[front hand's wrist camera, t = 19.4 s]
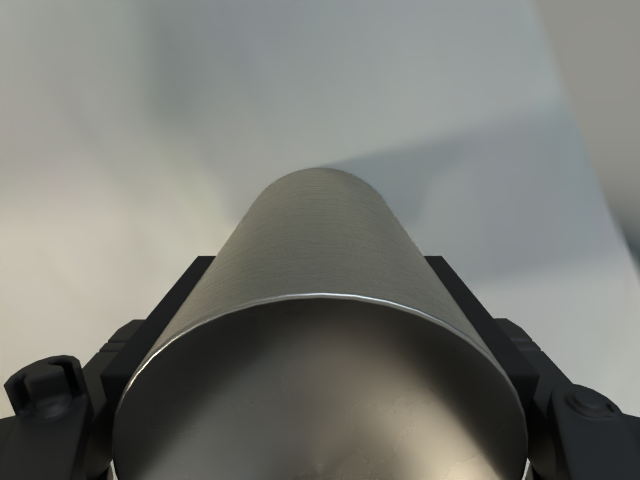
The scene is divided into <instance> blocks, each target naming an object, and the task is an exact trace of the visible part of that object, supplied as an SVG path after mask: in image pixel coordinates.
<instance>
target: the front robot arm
mask: <svg viewBox="0 0 640 480" xmlns="http://www.w3.org/2000/svg"><path fill="white" fill-rule="evenodd" d="M215 257H216V256H198V257H197V258H196V259H195V260H194V262H193V263H192V264H191V265H190V267H189V268H188V269H187V270H186V271H185V273H184V274H183V275H182V276H181V277H180V279H179V280H178V281H177V282H176V283H175V285H174V286H173V287H172V288H171V289H170V291H169V292H168V293H167V294H166V296H165V297H164V298H163V299H162V300H161V302H160V303H159V304H158V305H157V306H156V308H155V309H154V310H153V311H152V312H151V314H150V315H149V316H148V317H147V318H146V320H132V321H131V322H129V323H128V324H126V325H124V326H123V327H121V328H120V329H118V330H117V331H116V332H115V334H114V335H113V336H112V337H111V338H110V339H109V340H108V343H105V344H104V346H103V347H102V348H101V349H100V350H99V352H97V353H96V354H95V355H94V356H93V358H92V359H91V360H90V361H89V362H88V363H87V364H86V365H85V366H84V367H83V368H81V365H80V361H79V360H78V359H77V358H75V357H74V356H67V355H60V356H52V357H48V358H45V359H42V360H39V361H36V362H34V363H32V364H30V365H28V366H26V367H24V368H22V369H21V370H19V371H18V372H16V373H15V374H14V375H12V376H11V377H10V378H9V379H8V380H7V382H6V383H5V384H4V388H5V390H6V393H7V395H8V397H9V400H10V402H11V405H12V407H13V410H14V412H15V414H16V415H15V416H11V417H7V418H3V419H0V480H113V472H112V467H111V464H110V462H111V461H112V459H113V458H112V429H113V423H114V418H115V412H116V409H117V406H118V404H119V401H120V398H121V396H122V393H123V391H124V389H125V387H126V386H127V384H128V382H129V381H130V379H131V377H132V376H133V374H134V373H135V371H136V369H137V368H138V367H139V365H140V364H141V362H142V361H143V360H144V358H145V357H146V355H147V354H148V352H149V351H150V350H151V348H152V347H153V345H154V344H155V342H156V341H157V340H158V338H159V337H160V335H161V334H162V333H163V331H164V330H165V328H166V327H167V325H168V324H169V323H170V321H171V320H172V318H173V317H174V316H175V314H176V313H177V311H178V310H179V308H180V307H181V306H182V304H183V303H184V301H185V300H186V298H187V297H188V296H189V294H190V293H191V291H192V290H193V289H194V287H195V286H196V284H197V283H198V281H199V280H200V279H201V277H202V276H203V274H204V273H205V272H206V270H207V269H208V267H209V266H210V264H211V263H212V262H213V260H214V259H215ZM424 258H425V259H426V261H427V262H428V263H429V265H430V266H431V268H432V269H433V271H434V272H435V273H436V275H437V276H438V278H439V279H440V280H441V282H442V283H443V285H444V286H445V288H446V289H447V290H448V292H449V293H450V295H451V296H452V297H453V299H454V300H455V302H456V303H457V305H458V306H459V307H460V309H461V310H462V312H463V313H464V314H465V316H466V317H467V319H468V320H469V322H470V323H471V324H472V326H473V327H474V329H475V330H476V331H477V333H478V334H479V336H480V337H481V339H482V340H483V341H484V343H485V344H486V346H487V347H488V348H489V350H490V351H491V353H492V354H493V356H494V357H495V358H496V360H497V361H498V363H499V364H500V365H501V367H502V368H503V370H504V371H505V373H506V374H507V376H508V378H509V379H510V381H511V383H512V384H513V386H514V388H515V390H516V391H517V394H518V396H519V399H520V402H521V404H522V407H523V410H524V413H525V419H526V425H527V431H528V456H527V458H528V459H529V461H530V464H529V467H528V471H527V474H526V477H525V480H640V417H635V416H631V415H627V414H623V413H622V412H621V410H620V409H619V408H618V406H617V405H616V404H614V403H613V402H612V401H611V400H609V399H608V398H607V397H606V396H604V395H602V394H600V393H598V392H596V391H595V390H593V389H590V388H587V387H584V386H581V385H577V384H573V383H572V382H571V381H570V380H569V379H568V378H567V377H566V376H565V375H564V374H563V372H562V371H561V370H560V369H559V368H558V367H557V366H556V365H555V364H554V363H553V362H552V361H551V359H550V358H549V357H548V356H547V355H546V354H545V353H544V352H543V351H541V349H540V348H539V346H538V345H537V344H536V343H535V342H532V339H531V338H530V337H529V336H528V334H527V333H526V332H525V331H524V330H523V329H522V328H521V327H519V326H517V325H516V324H514V323H513V322H511V321H510V320H508V319H506V318H492V316H491V315H490V314H489V313H488V312H487V310H486V309H485V308H484V307H483V306H482V304H481V303H480V302H479V301H478V299H477V298H476V297H475V296H474V295H473V293H472V292H471V291H470V290H469V289H468V287H467V286H466V285H465V284H464V283H463V281H462V280H461V279H460V278H459V277H458V275H457V274H456V273H455V272H454V270H453V269H452V268H451V267H450V266H449V264H448V263H447V262H446V261H445V260H444V258H443V257H442V256H424Z"/></svg>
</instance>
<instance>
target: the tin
mask: <svg viewBox="0 0 640 480" xmlns="http://www.w3.org/2000/svg"><path fill="white" fill-rule="evenodd" d="M527 456H528V431H527V425H526V419H525V413H524V410H523V407H522V404H521V402H520V399H519V396H518V394H517V391H516V390H515V388H514V386H513V384H512V383H511V381H510V379H509V378H508V376H507V374H506V373H505V371H504V370H503V368H502V367H501V365H500V364H499V363H498V361H497V360H496V358H495V357H494V356H493V354H492V353H491V351H490V350H489V348H488V347H487V346H486V344H485V343H484V341H483V340H482V339H481V337H480V336H479V334H478V333H477V331H476V330H475V329H474V327H473V326H472V324H471V323H470V322H469V320H468V319H467V317H466V316H465V314H464V313H463V312H462V310H461V309H460V307H459V306H458V305H457V303H456V302H455V300H454V299H453V297H452V296H451V295H450V293H449V292H448V290H447V289H446V288H445V286H444V285H443V283H442V282H441V280H440V279H439V278H438V276H437V275H436V273H435V272H434V271H433V269H432V268H431V266H430V265H429V263H428V262H427V261H426V259H425V258H424V256H423V255H422V254H421V252H420V251H419V249H418V248H417V246H416V245H415V244H414V242H413V241H412V239H411V238H410V237H409V235H408V234H407V232H406V231H405V230H404V228H403V227H402V225H401V224H400V222H399V221H398V220H397V218H396V217H395V215H394V214H393V213H392V211H391V210H390V208H389V207H388V205H387V204H386V203H385V201H384V200H383V199H382V197H381V196H380V195H379V194H378V193H377V192H376V191H375V190H374V189H373V188H372V187H371V186H370V185H369V184H367V183H366V182H364V181H363V180H361V179H359V178H357V177H356V176H354V175H352V174H349V173H346V172H343V171H339V170H334V169H326V168H313V169H305V170H300V171H297V172H294V173H291V174H288V175H286V176H284V177H282V178H280V179H278V180H277V181H275V182H274V183H272V184H271V185H270V186H269V187H267V188H266V189H265V190H264V191H263V192H262V193H261V194H260V196H259V197H258V198H257V199H256V201H255V202H254V203H253V205H252V206H251V208H250V209H249V211H248V212H247V213H246V215H245V216H244V218H243V219H242V220H241V222H240V223H239V225H238V226H237V228H236V229H235V230H234V232H233V233H232V235H231V236H230V237H229V239H228V240H227V242H226V243H225V245H224V246H223V247H222V249H221V250H220V252H219V253H218V255H217V256H216V257H215V259H214V260H213V262H212V263H211V264H210V266H209V267H208V269H207V270H206V272H205V273H204V274H203V276H202V277H201V279H200V280H199V281H198V283H197V284H196V286H195V287H194V289H193V290H192V291H191V293H190V294H189V296H188V297H187V298H186V300H185V301H184V303H183V304H182V306H181V307H180V308H179V310H178V311H177V313H176V314H175V316H174V317H173V318H172V320H171V321H170V323H169V324H168V325H167V327H166V328H165V330H164V331H163V333H162V334H161V335H160V337H159V338H158V340H157V341H156V342H155V344H154V345H153V347H152V348H151V350H150V351H149V352H148V354H147V355H146V357H145V358H144V360H143V361H142V362H141V364H140V365H139V367H138V368H137V369H136V371H135V373H134V374H133V376H132V377H131V379H130V381H129V382H128V384H127V386H126V387H125V389H124V391H123V393H122V396H121V398H120V401H119V404H118V406H117V409H116V412H115V418H114V423H113V429H112V458H113V463H114V468H115V473H116V476H117V478H118V480H522V477H523V475H524V470H525V466H526V461H527Z"/></svg>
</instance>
